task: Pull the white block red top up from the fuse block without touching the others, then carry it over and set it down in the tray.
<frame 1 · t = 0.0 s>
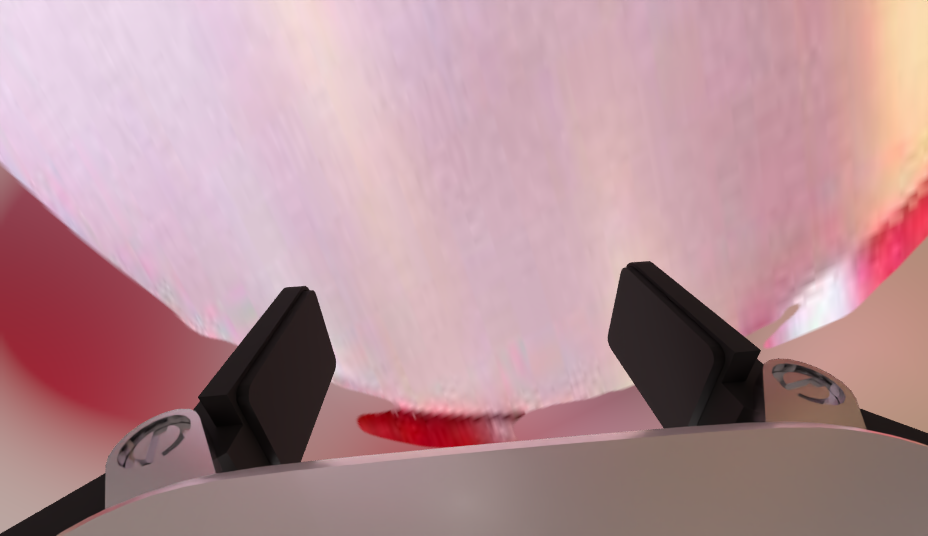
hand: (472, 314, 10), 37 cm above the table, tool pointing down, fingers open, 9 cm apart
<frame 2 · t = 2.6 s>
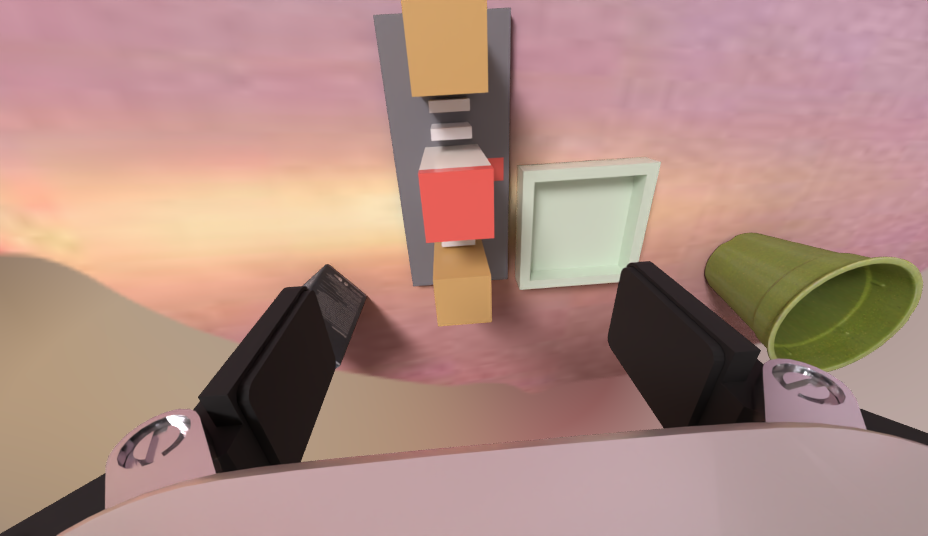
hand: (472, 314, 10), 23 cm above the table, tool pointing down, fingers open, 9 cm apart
plant pot: (735, 259, 37), on the table
white block red top: (453, 172, 30), point 1 cm above the table, touching fuse block
fuse block: (452, 169, 30), on the table
tray: (574, 222, 34), on the table
box: (324, 298, 36), on the table
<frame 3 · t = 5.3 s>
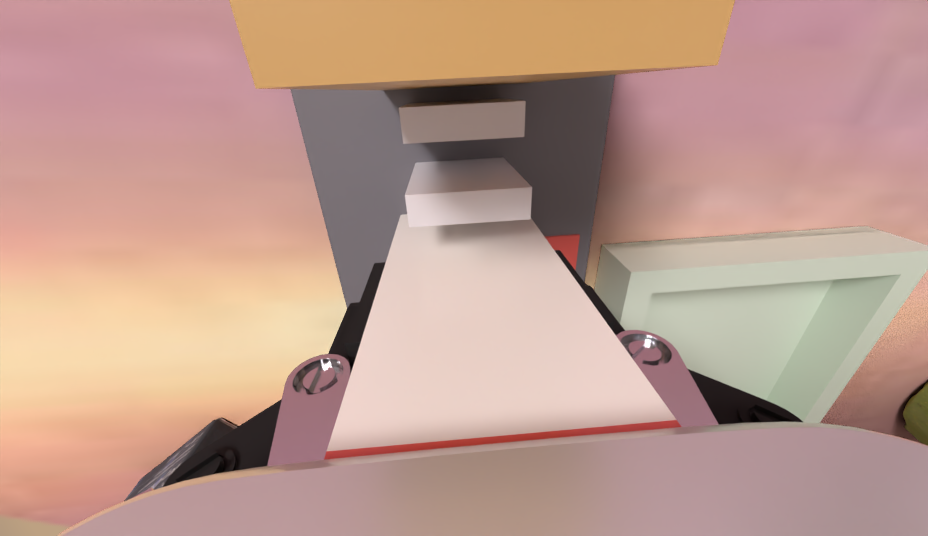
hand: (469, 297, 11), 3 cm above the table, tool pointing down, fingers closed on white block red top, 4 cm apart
white block red top: (464, 265, 13), point 1 cm above the table, touching fuse block, gripper
fuse block: (463, 254, 14), on the table
tray: (696, 341, 17), on the table
box: (224, 463, 20), on the table
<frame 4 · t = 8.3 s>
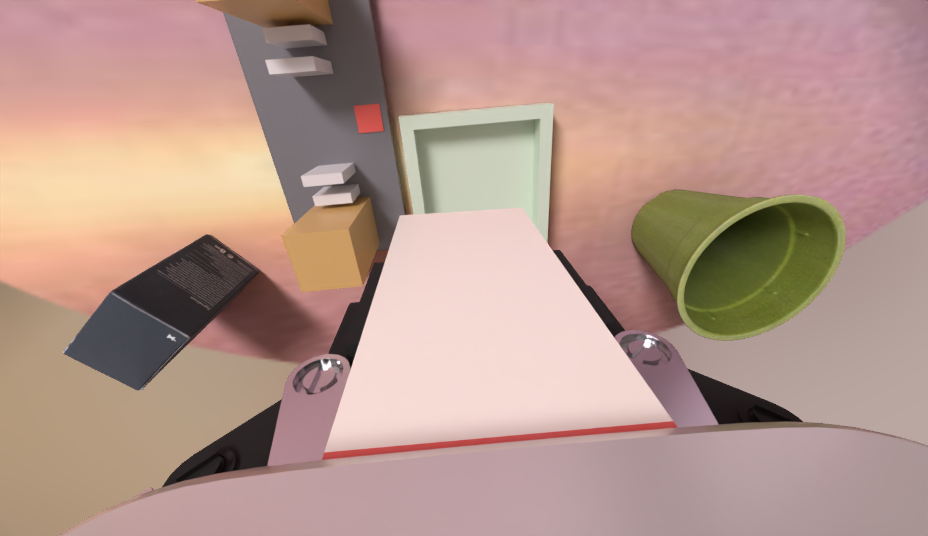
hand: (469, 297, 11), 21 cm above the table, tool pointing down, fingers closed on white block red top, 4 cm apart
plant pot: (664, 221, 34), on the table
white block red top: (464, 265, 13), point 19 cm above the table, touching gripper
fuse block: (329, 121, 27), on the table
tray: (477, 180, 30), on the table
box: (214, 274, 33), on the table
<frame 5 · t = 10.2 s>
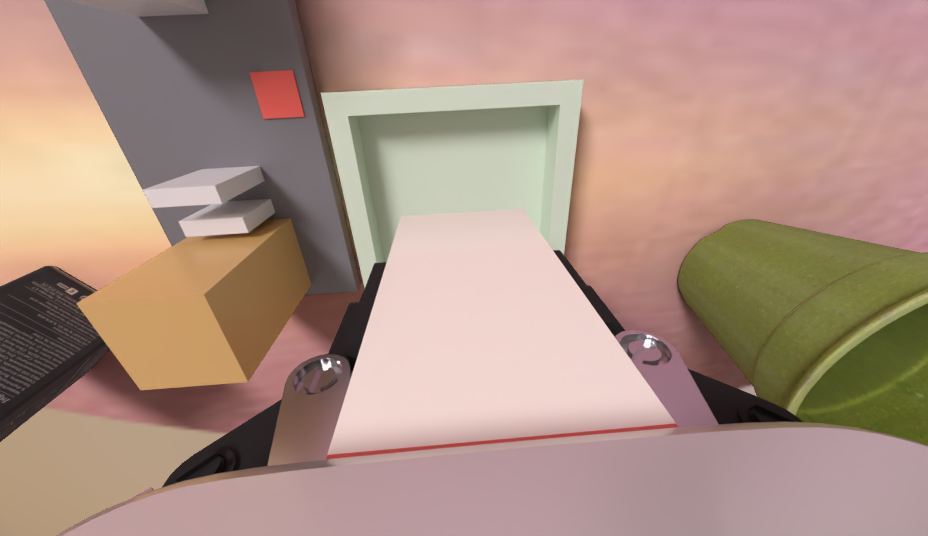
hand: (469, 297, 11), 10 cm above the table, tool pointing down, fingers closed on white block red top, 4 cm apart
plant pot: (725, 262, 24), on the table
white block red top: (465, 266, 13), point 8 cm above the table, touching gripper
fuse block: (217, 98, 17), on the table
tray: (458, 198, 20), on the table
box: (74, 320, 23), on the table
when the fingers open (4 cm above the table, at t = 11.5 s): white block red top drops 1 cm, resting on tray.
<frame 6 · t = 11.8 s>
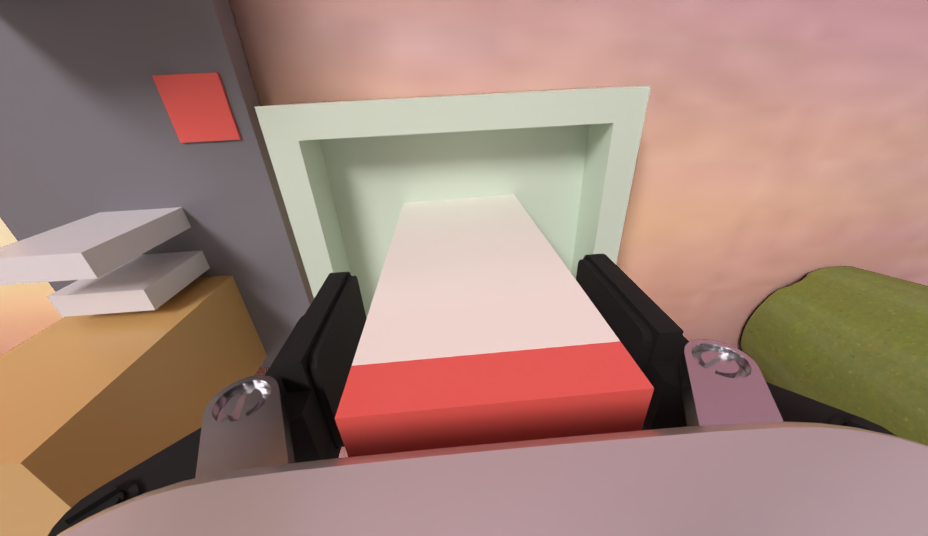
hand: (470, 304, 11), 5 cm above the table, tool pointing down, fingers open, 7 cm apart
plant pot: (800, 316, 19), on the table
white block red top: (462, 249, 14), point 1 cm above the table, touching tray
fuse block: (116, 112, 12), on the table
tray: (461, 244, 15), on the table
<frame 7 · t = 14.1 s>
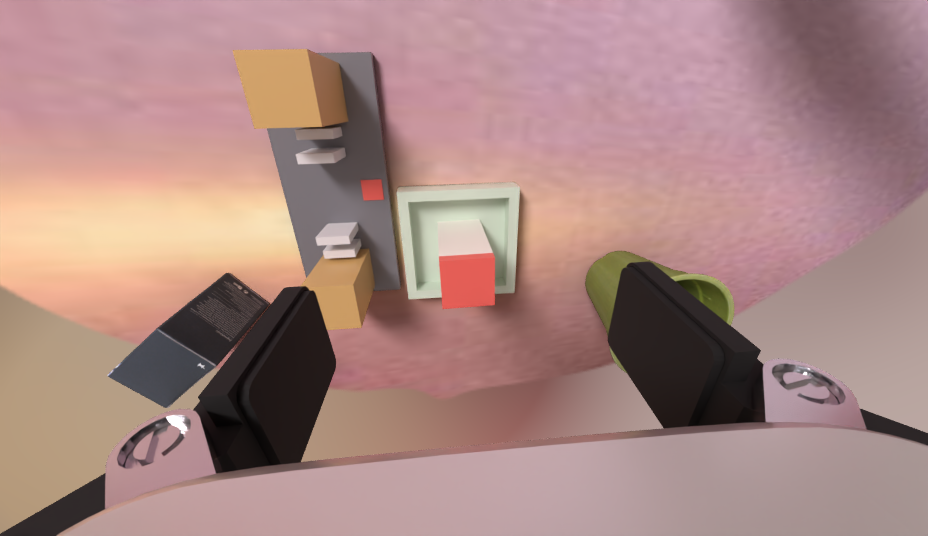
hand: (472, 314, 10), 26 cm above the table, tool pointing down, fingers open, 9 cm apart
plant pot: (612, 274, 41), on the table
white block red top: (459, 240, 36), point 1 cm above the table, touching tray
fuse block: (339, 189, 34), on the table
tray: (458, 238, 37), on the table
box: (229, 305, 39), on the table
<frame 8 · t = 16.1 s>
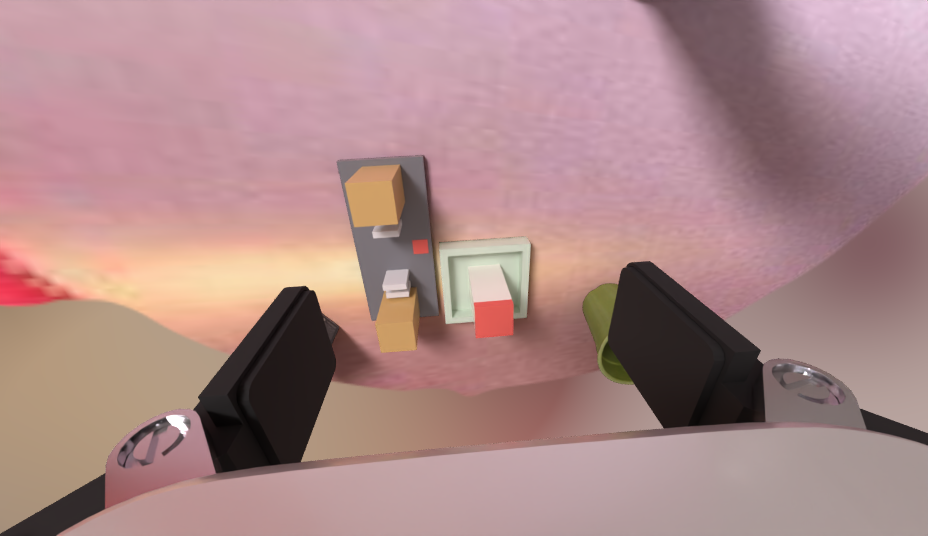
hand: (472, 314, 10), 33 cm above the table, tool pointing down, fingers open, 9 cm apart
plant pot: (604, 300, 52), on the table
white block red top: (484, 279, 48), point 1 cm above the table, touching tray
fuse block: (395, 245, 45), on the table
tray: (483, 277, 48), on the table
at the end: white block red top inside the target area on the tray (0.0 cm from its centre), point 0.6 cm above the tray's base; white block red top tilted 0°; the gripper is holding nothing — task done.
